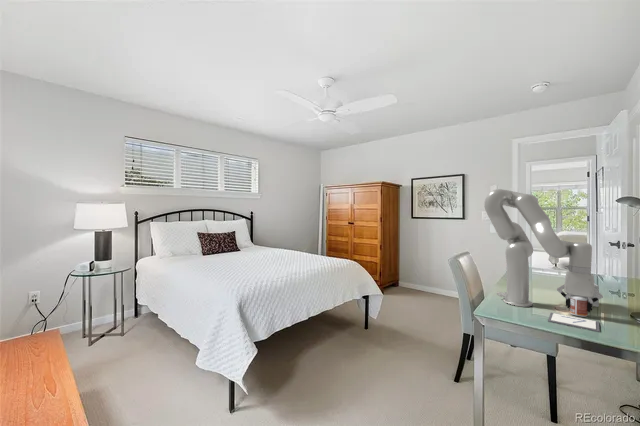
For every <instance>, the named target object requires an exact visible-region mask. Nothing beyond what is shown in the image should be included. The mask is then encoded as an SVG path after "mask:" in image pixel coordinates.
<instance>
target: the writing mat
mask: <svg viewBox="0 0 640 426" xmlns="http://www.w3.org/2000/svg"><path fill="white" fill-rule="evenodd" d="M547 322H548V323H553V324H559V325H562V326H567V327H573V328H578V329H581V328H582V329H583V330H586V329H588V331H591V330H592V331H591V332H597V333H600V332H601V331H600V321H599V320H591V319H588V318H587V319H586V318H583V317H578V316H573V315H572V316H571V315H565V314H561V313H555V312H550V314H549V316H548V318H547Z"/></svg>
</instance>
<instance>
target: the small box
mask: <svg viewBox="0 0 640 426" xmlns="http://www.w3.org/2000/svg"><path fill="white" fill-rule="evenodd" d="M595 289H596V290H597V291H598V292H599V290H600V289H599V285H598V284H596V283H595ZM599 293H600V292H599ZM595 297H597V295H596V294H595V295H594V297H592V299H593V298H595ZM588 302H589V300H588ZM599 302H600V299H599V300H598V301H596V302H594V303H592V307H597V308H599V305H600V303H599Z"/></svg>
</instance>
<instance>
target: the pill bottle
mask: <svg viewBox="0 0 640 426" xmlns="http://www.w3.org/2000/svg"><path fill="white" fill-rule="evenodd" d="M569 298H570V308H569V313H570V315H572V316H574V317H579V318H587V317H588V315H589V314H588V313H589V312H588V298H587V297H583V296H577V295H570V297H569Z"/></svg>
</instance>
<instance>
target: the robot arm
mask: <svg viewBox="0 0 640 426" xmlns="http://www.w3.org/2000/svg"><path fill="white" fill-rule="evenodd" d="M483 205H484V210H485V213H486V215H487V217H488V218H489V221H490V223H491V224H492V226H493V228H494V230H495V232H496V233H497V235H498V237H499V238H500V239H501V240H503V241H507V244H508V245H507V246H506V248H505V261H506V262H505V263H506V292H505V291H504V292H502V291H497V292H496V296H498V297H501V298H502V297H503V299H502V301H503V303H505V304H507V303H508V304H507V305H510V304H511V306H514V305H515V307H524V308H525V307H526V308H529V307H533V302H532V301H531V300H530V263H529V262H530V261H529V257H531V256H532V255H533V253H534V247H533V244H532V243H531V241H530V238H529V237H528V236H527V234H526V233H525V231H524V229H523V228H522V226H521V225H520V224H518V223H516V222H514V221H512V220H511V217H510V216H509V214H508V213H507V211H506V210H505V208H504V206H505V207H510V208H515V209H517V210H518V212H519V213H520V214H521V215H522V217H523V219H524V220H525V221H526V223H527V224H528V226H529V227H530V229H531V231H532V233H533V235H534V236H535V238H536V240H537V242H538V243H539V244H540V245H541V247H542V248H543V249H544V251H545V253H547V255H549V256H550V257H552V258H554V259H560V258H563V257H569V259H568V261H569V262H568V265H564V269H566V270H568V271H566V272H565V278H564V284H563V285H560V286H559V287H557V289H556V291H558V293H559V294H561V296H563V298H564V299H565V306H567V309H570V295H577V296H583V297H587V298H588V300H589V302H588V313H590V312H591V311H593V306H592V303H594V302H596V301H598V300H599V301H600V300H601V299H603V298H604V295H603V294H601V292H598V291H597V290H596V289H595V284H596V283H595V277H594V274H592V262H593V261H592V259H593V246H592V244H591V243H587V242H580V241H578V242H576V241H575V242H571V241H566V240H562V239H560V238H559V236H558V235H557V234H556V232H555V231H554V228H553V227H552V222H551V219H550V218H549V216H548V215H547V214H546V212H545V211H544V209H542V207H541V205H540V204H539V200H538V198H537V197H536V196H535V195H533V194H528V193H523V192H519V191H512V190H508V189H501V188H497V189H493V190H492V191H490V192H489V193H488V194H487V195H486V197H485V199H484V203H483ZM563 290H564V291H563ZM595 294H596V295H597V297H595V298H593V299H592V297H594V295H595Z"/></svg>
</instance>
